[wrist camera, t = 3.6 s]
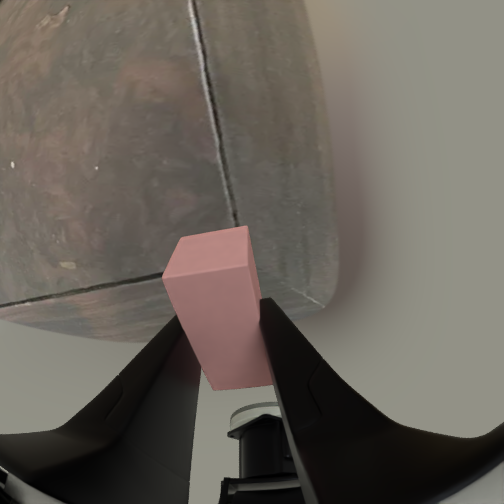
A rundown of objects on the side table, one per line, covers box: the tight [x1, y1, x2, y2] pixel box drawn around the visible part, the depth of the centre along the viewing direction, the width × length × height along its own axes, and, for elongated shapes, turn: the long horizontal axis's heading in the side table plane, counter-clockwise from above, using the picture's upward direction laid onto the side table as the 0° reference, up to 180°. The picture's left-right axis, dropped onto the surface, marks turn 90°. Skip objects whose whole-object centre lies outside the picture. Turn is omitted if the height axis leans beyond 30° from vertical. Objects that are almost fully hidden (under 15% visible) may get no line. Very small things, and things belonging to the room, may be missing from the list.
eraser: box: [162, 226, 273, 390], centre depth 9 cm, size 5×2×2 cm, turn 10°
